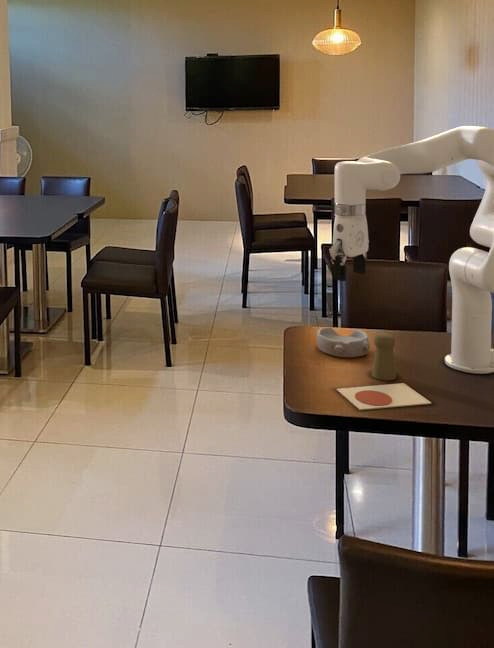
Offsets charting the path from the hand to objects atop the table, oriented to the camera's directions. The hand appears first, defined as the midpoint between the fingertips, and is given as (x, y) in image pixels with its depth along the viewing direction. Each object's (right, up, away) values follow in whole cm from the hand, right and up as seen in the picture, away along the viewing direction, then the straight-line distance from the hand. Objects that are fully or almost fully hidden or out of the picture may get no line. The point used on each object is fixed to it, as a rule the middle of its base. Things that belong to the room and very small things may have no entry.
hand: (349, 276), depth 187 cm
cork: (+10, -26, +2) cm, 28 cm away
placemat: (+5, -27, -11) cm, 30 cm away
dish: (+5, -25, +21) cm, 33 cm away
